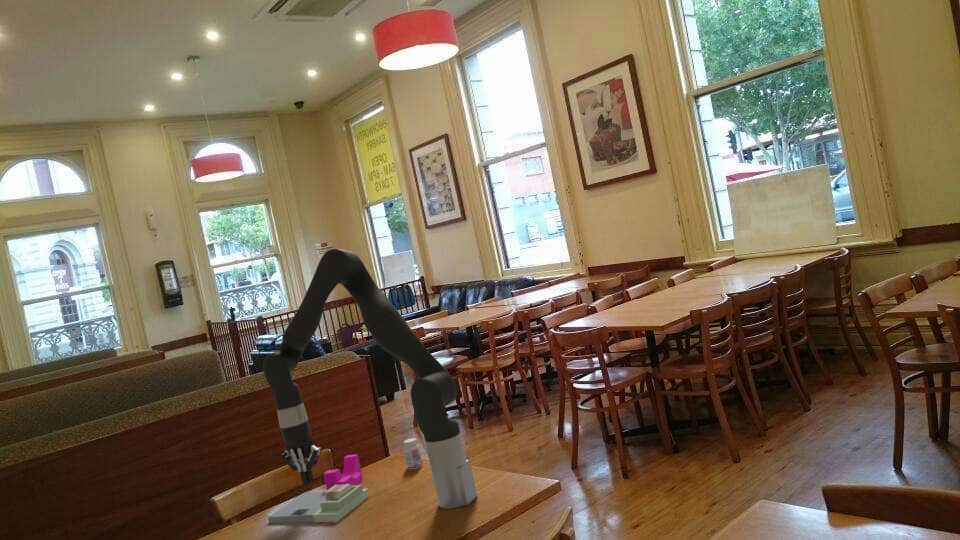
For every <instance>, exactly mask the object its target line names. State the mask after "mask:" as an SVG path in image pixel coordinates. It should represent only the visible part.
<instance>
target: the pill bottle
mask: <svg viewBox="0 0 960 540" xmlns="http://www.w3.org/2000/svg"><path fill="white" fill-rule="evenodd" d="M403 446H404V448H403V451H404V458H405V461H406V468H407V469H408V470H416V469H417V470H418V469H420V468H422V467H423V465H424V463H423V457H422V454H421V449H420V445H419V444H418V440H417V438H416V437H412V438H408V439H405V440H404V441H403Z"/></svg>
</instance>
